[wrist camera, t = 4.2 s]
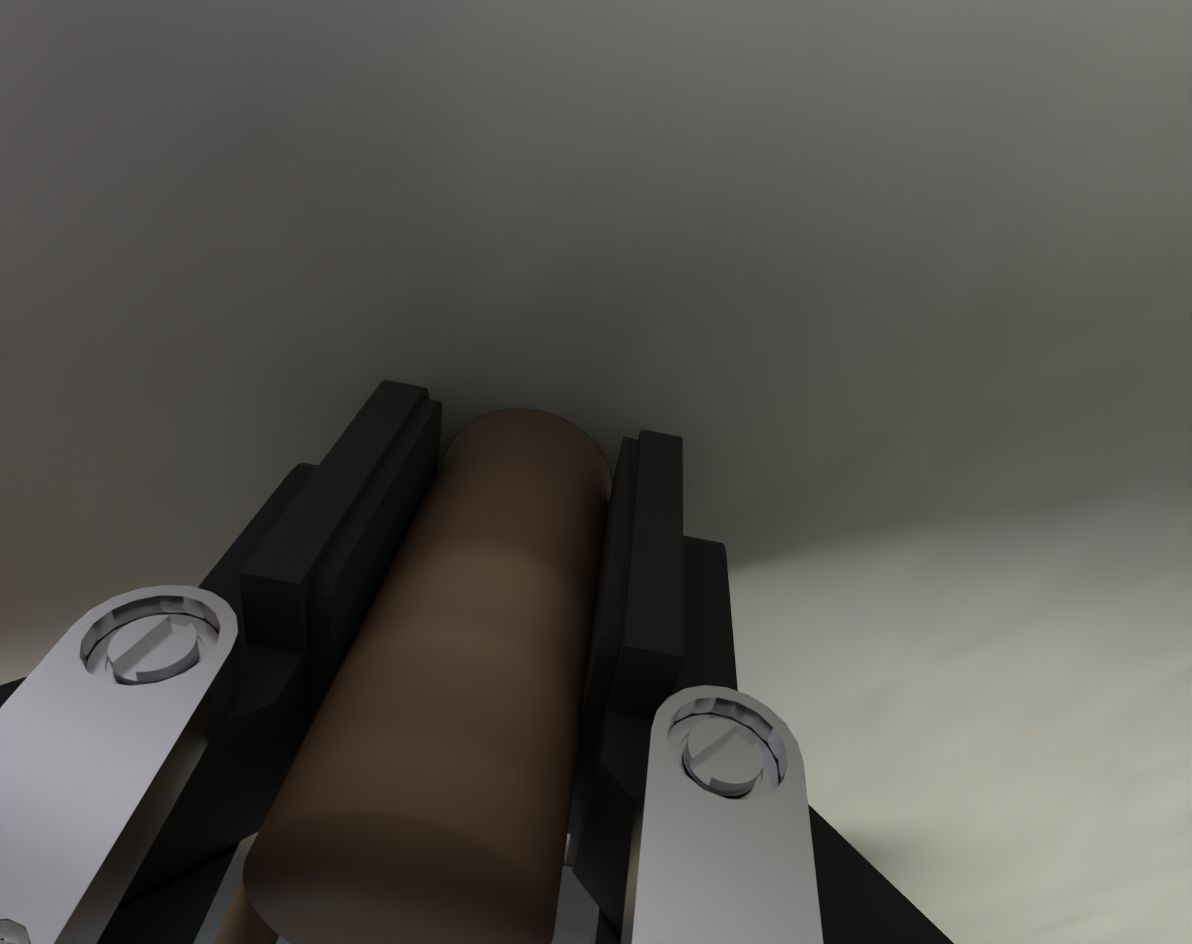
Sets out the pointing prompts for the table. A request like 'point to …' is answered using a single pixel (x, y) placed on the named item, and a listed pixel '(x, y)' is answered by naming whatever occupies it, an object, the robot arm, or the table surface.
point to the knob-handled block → (454, 715)
